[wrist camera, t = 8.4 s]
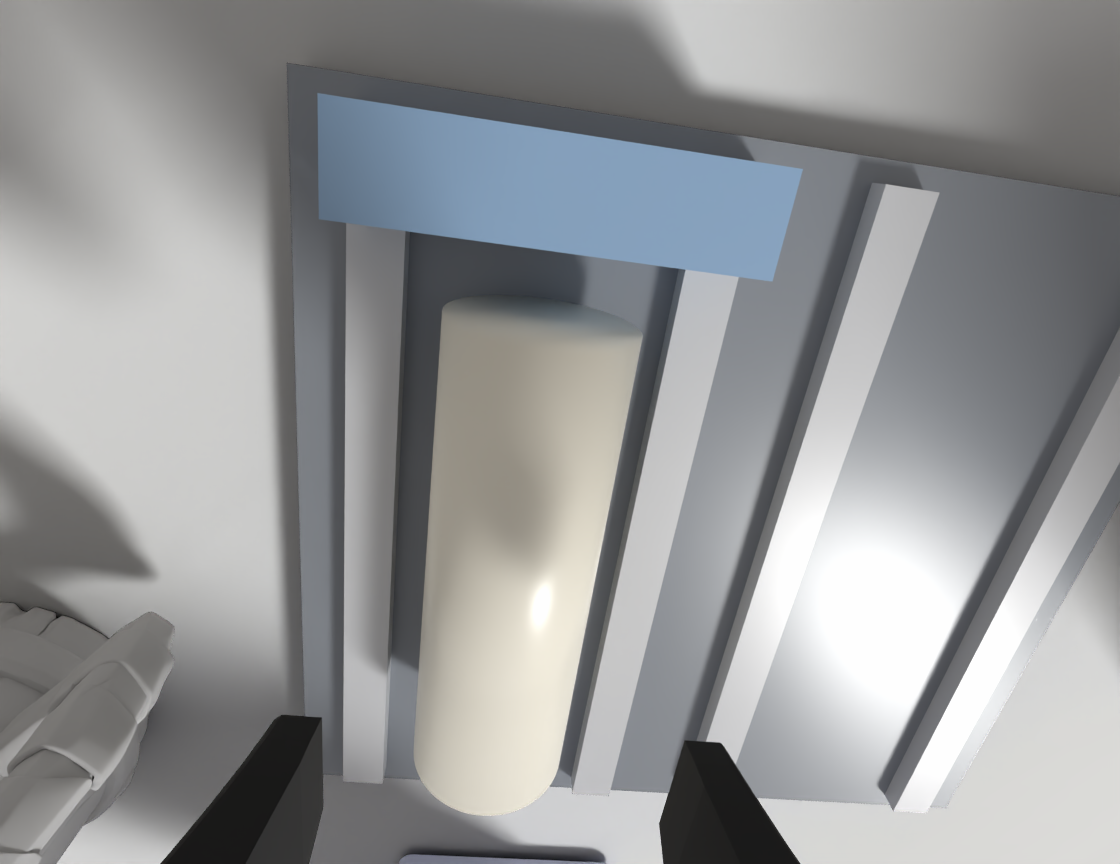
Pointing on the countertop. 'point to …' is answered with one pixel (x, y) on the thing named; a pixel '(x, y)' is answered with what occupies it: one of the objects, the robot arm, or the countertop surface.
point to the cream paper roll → (514, 538)
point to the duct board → (712, 428)
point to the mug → (70, 722)
